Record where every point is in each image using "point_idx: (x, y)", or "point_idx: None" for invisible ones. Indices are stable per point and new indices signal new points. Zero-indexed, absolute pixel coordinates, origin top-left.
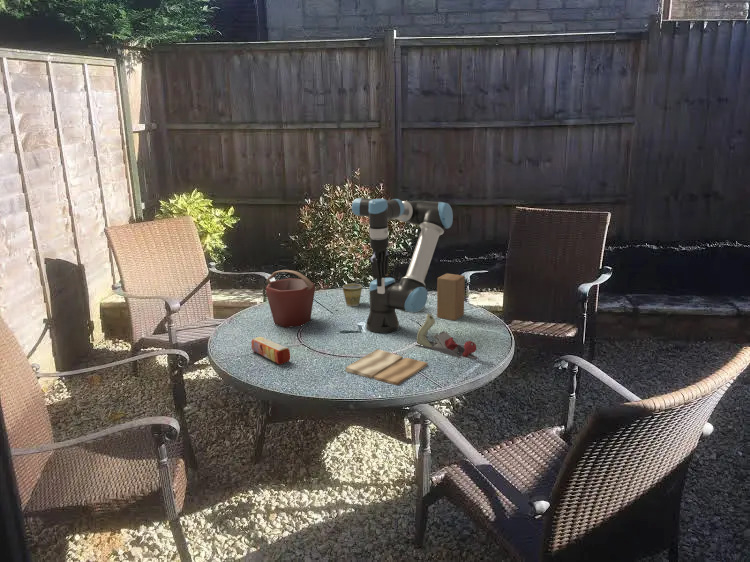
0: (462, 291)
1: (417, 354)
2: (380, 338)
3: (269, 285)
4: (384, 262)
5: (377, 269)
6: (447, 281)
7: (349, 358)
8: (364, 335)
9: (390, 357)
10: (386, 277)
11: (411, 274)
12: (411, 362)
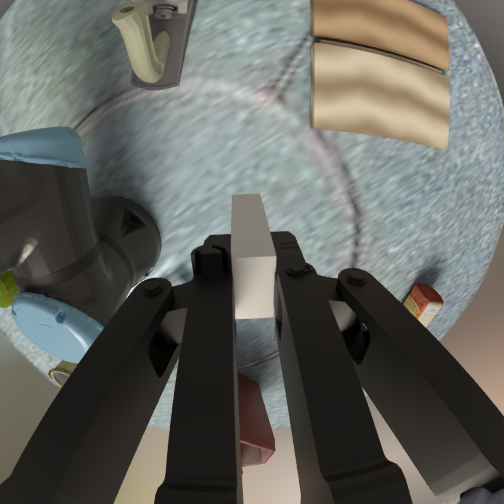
0: None
1: (238, 33)
2: (186, 195)
3: (251, 464)
4: (190, 464)
5: (436, 360)
6: None
7: (361, 185)
8: (194, 245)
9: (342, 69)
10: (207, 245)
11: None
12: (336, 8)
